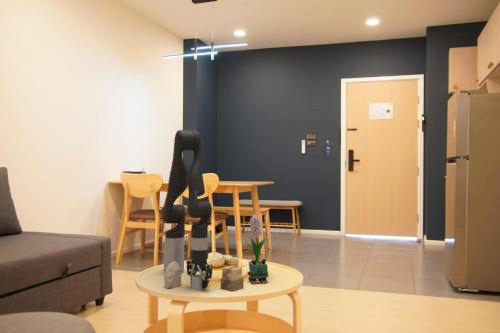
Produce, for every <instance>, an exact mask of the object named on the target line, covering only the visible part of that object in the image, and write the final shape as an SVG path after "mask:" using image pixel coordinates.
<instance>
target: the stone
mask: <svg viewBox="0 0 500 333" xmlns="http://www.w3.org/2000/svg"><path fill="white" fill-rule="evenodd" d="M163 279H164V281H163V282H164V289H165V288H167V289H166V290H170V289H174V287H175V288H178V287H179V286H181V284H182V273H181V271H180V267H179V264H178V263H177V262H175V261H172V262H171V263H170V264H169V265H168V267H167V268H166V269H165V272H164V278H163ZM169 288H170V289H169Z"/></svg>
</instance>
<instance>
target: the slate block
mask: <svg viewBox="0 0 500 333" xmlns="http://www.w3.org/2000/svg"><path fill="white" fill-rule="evenodd" d="M204 276H205V274H204ZM202 280H203V279H202V276H201V275H200V273H198V274H196V275H194V276H192V285H191V290H194V291H198V292H200V291H204V290H207V288H205V289H203V288H202Z"/></svg>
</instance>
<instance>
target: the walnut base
mask: <svg viewBox="0 0 500 333" xmlns="http://www.w3.org/2000/svg"><path fill="white" fill-rule="evenodd" d="M244 281H245V280H244V277H242V278H241V279H237V280H234V281H231V280H227V279H223V278H222V277H221V278H220V290H221V289H222V290H225V291H229V292H235V291H236V292H237V291H238V290H242V289H244V285H245V284H244Z"/></svg>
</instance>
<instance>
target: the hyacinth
mask: <svg viewBox="0 0 500 333" xmlns="http://www.w3.org/2000/svg"><path fill="white" fill-rule="evenodd" d="M260 218H261V217H259V215H258V214H256V213H254V214H253V215H252V216H250V218H249V227H250V228H249V230H250V235H251V237H252V238H251V239H250V242H251V244H250V243H248V242H246V244H247V245H249V247H251V249H252V251H253V253H254V256H255V259H254V260H255V261H257V262H256V264H258V265H260V264H262V262H261V260H262V259H260V254H261V250H262V247H263V246H264V244H265V242H266V241H267V239H266V238H263V239H262V240H261V241H260V242H259V241H258V238H259V237H261V236H262V235H263V233H262V232H263V231H262V224H261V219H260ZM254 238H256V240H254ZM252 264H253V262H252V260H248V269H249V270H248V271H250V265H252ZM257 280H258V278H257Z"/></svg>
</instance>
